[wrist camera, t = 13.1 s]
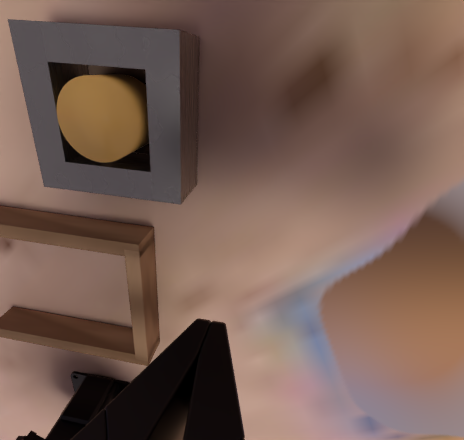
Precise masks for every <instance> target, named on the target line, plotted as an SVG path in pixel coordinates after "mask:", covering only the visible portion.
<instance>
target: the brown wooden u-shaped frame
mask: <svg viewBox="0 0 464 440" xmlns="http://www.w3.org/2000/svg"><path fill="white" fill-rule="evenodd" d="M0 237H4V238H10V239H17V240H23V241H30V242H36V243H43V244H49V245H56V246H62V247H69V248H75V249H82V250H88V251H95V252H101V253H108V254H114V255H121V256H125V263H126V273H127V282H128V291H129V301H130V310H131V320H132V328H128V327H122V326H117V325H111V324H106V323H100V322H95V321H89V320H84V319H78V318H73V317H67V316H62V315H56V314H51V313H45V312H40V311H35V310H29V309H24V308H18V307H12V308H11V309H10V310H8V311H7V312H6V313H5V314H4V315H3V316H1V317H0V337H3V338H8V339H13V340H19V341H24V342H29V343H34V344H39V345H44V346H49V347H54V348H59V349H64V350H69V351H75V352H80V353H85V354H90V355H95V356H100V357H105V358H110V359H115V360H120V361H125V362H131V363H136V364H141V365H146V366H148V365H149V363H150V361H151V359H152V357H153V355H154V353H155V351H156V349H157V347H158V344H159V342H160V338H159V319H158V300H157V282H156V263H155V244H154V227H148V226H141V225H134V224H127V223H120V222H112V221H105V220H98V219H91V218H84V217H77V216H70V215H63V214H56V213H49V212H41V211H34V210H27V209H20V208H13V207H6V206H0Z"/></svg>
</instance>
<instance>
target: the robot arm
mask: <svg viewBox="0 0 464 440" xmlns="http://www.w3.org/2000/svg"><path fill="white" fill-rule="evenodd" d="M75 375H76V376H75ZM77 376H78V377H77ZM71 379H72V383H73V387H74V391H75V394H74V395H73V397H72V398H71V400H70V401H69V403H68V404H67V406H66V407H65V409H64V410H63V412H62V413H61V415H60V417H59V419H58V420H57V422H56V423H55V425H54V426H53V428H52V429H51V431H50V432H49V434H48V436H47V437H46V439H44V438H42V437H40V436H38V435H36V434H37V433H35V432H33V431H30V433H29V434H28V435H27V436H18V437H17V439H16V440H245V439H244V438H245V435H244V429H243V423H242V418H241V412H240V406H239V400H238V394H237V388H236V382H235V376H234V370H233V364H232V358H231V352H230V346H229V340H228V335H227V329H226V324H225V323H223V322H217V321H212V322H211V321H210V320H205V319H196V320H195V321H194V322H193V323H192V324H191V325H190V326H189V327H188V328H187V329H186V330H185V331H184V332H183V333H182V334H181V335H180V336H179V337H178V338H177V339H175V340H174V341H173V342H172V343H171V344H170V345H169V346H168V347H167V348H166V349H165V350H164V351H163V352H162V353H161V354H160V355H159V356H158V357H157V358H156V359H155V360H154V361H153V362H152V363H151V364H149V365H148V366H147V367H146V368H145V369H144V370H143V371H142V372H141V373H140V374H139V375H138V376H137V377H136V378H135V379H134V380H133V381H132V382H131V383H130V382H125V381H120V380H115V379H110V378H105V377H100V376H95V375H90V374H86V373H81V372H75V371H74V372H72V374H71Z"/></svg>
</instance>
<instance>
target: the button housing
mask: <svg viewBox="0 0 464 440" xmlns="http://www.w3.org/2000/svg"><path fill="white" fill-rule="evenodd" d="M8 22H9V27H10V32H11V36H12V41H13V45H14V50H15V55H16V59H17V64H18V68H19V73H20V78H21V82H22V87H23V91H24V96H25V101H26V105H27V110H28V114H29V119H30V123H31V128H32V133H33V137H34V142H35V146H36V151H37V156H38V160H39V165H40V169H41V174H42V179H43V183H44V187H52V188H59V189H67V190H75V191H82V192H90V193H98V194H105V195H113V196H121V197H128V198H136V199H144V200H151V201H159V202H167V203H174V204H182V202H183V201H184V200H185V199H186V197H187V196H188V195H189V194H190V192H191V191H192V190H193V189H194V187H195V186H196V185H197V137H198V74H199V37H198V36H196V35H193V34H190V33H187V32H184V31H181V30H172V29H156V28H140V27H124V26H108V25H92V24H76V23H59V22H43V21H27V20H11V19H8ZM87 65H96V66H109V67H121V68H134V69H145V72H146V91H147V110H148V128H149V147H150V154H144V153H135V152H132V153H130V154H128V155H126V156H124V157H122V158H121V159H119V160H116V161H113V162H107V163H104V162H96V161H93V160H90V159H88V158H86V157H84V156H83V155H81V154H80V153H78V152H77V151H76V150H75V149H74V148H73V147H72V146H71V145H70V144H69V142H68V141H67V140H66V138H65V136H64V135H63V133H62V131H61V129H60V126H59V123H58V118H57V100H58V96H59V94H60V91H61V90H62V88H63V87H64V86H65V84H66V83H67V82H69V81H70V80H72V79H73V78H75V77H78V76H83V75H89V74H88V66H87Z"/></svg>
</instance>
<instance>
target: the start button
mask: <svg viewBox="0 0 464 440" xmlns="http://www.w3.org/2000/svg"><path fill="white" fill-rule="evenodd" d="M57 118H58V123H59V126H60V129H61V131H62V133H63V135H64V136H65V138H66V140H67V141H68V142H69V144H70V145H71V146H72V147H73V148H74V149H75V150H76V151H77V152H78V153H80V154H81V155H83V156H84V157H86V158H88V159H90V160H93V161H96V162H104V163H107V162H113V161H116V160H119V159H121V158H122V157H124V156H126V155H128V154H130V153H132V152H134V151H136V150H137V149H139V148H141V147H143V146H145V145H146V144H148V143H149V128H148V110H147V91H146V86H145V85H144V84H143V83H142V82H141V81H139V80H138V79H136V78H134V77H132V76H129V75H124V74H107V75H83V76H78V77H75V78H73V79H72V80H70V81H69V82H67V83H66V84H65V86H64V87H63V88H62V90H61V91H60V94H59V96H58V100H57Z"/></svg>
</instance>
